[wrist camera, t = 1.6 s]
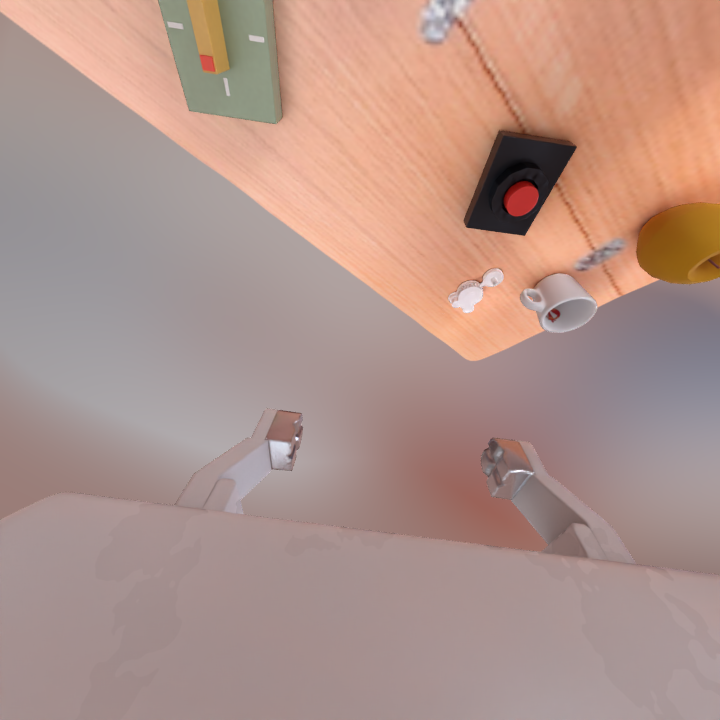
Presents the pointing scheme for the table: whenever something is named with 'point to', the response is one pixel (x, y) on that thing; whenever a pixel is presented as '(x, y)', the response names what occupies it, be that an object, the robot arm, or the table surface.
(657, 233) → the apple
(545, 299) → the cup
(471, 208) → the button block
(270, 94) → the panel
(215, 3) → the handle
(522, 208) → the release button
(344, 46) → the table surface
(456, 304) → the white lobed flat piece
